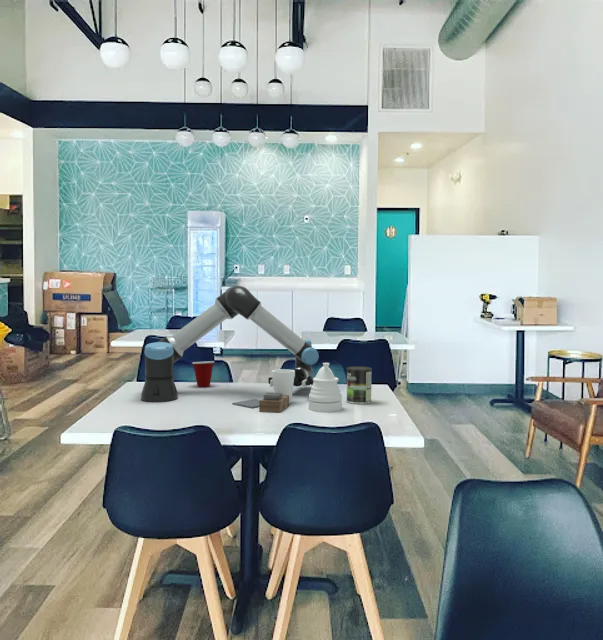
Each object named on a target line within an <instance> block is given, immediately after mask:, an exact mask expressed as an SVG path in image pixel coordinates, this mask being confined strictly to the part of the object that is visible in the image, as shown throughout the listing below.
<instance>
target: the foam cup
mask: <svg viewBox="0 0 603 640" xmlns="http://www.w3.org/2000/svg"><path fill="white" fill-rule="evenodd" d="M294 370H295V369H288V368H287V369H285V368H284V369H282V368H279V369H273V370H271V377H272V379H273V387H272V388H273V393H282V395H287V396H289V404H292V399H293V390H294V386H293V384H294V377H295V371H294Z"/></svg>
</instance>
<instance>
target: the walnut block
mask: <svg viewBox="0 0 603 640" xmlns="http://www.w3.org/2000/svg"><path fill="white" fill-rule="evenodd" d="M259 400H260V401H259V407H258V408H259V409H258V411H259V412H264V413H281V412H283V411H284V410H286V408H288V407H289V406H290V403H289V396H287V395H282V393H274V392H265V394H263V398H261V399H259Z"/></svg>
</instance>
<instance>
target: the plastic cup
mask: <svg viewBox="0 0 603 640" xmlns="http://www.w3.org/2000/svg"><path fill="white" fill-rule="evenodd" d="M214 364H215V361H214V360H211V361H208V360H207V361H193V362H191V365H192V367H193V371H194V376H195V380H196V385H197V387H198V388H207V387H210V386H211V379H212V376H213V375H212V373H213V368H214Z"/></svg>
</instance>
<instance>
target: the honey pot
mask: <svg viewBox="0 0 603 640" xmlns="http://www.w3.org/2000/svg"><path fill="white" fill-rule="evenodd" d="M329 366H330V362H322V366H321V367H320V368H319V370H318V371H317V373H316V375H315V377H312V378H313V381H314V382H313V385H311V388H310V392H309V394H308V410H309V411H312V412H319V413H321V412H322V413H333V412H339V411H342V408H343V403H342V402H343V401H342V398H343V397H342V394H341V389H340V386H339V384H338V382H339V379H340V378H338V377H336V376H335V375H334V373H333V371H332V369H331V368H330V367H329Z"/></svg>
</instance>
